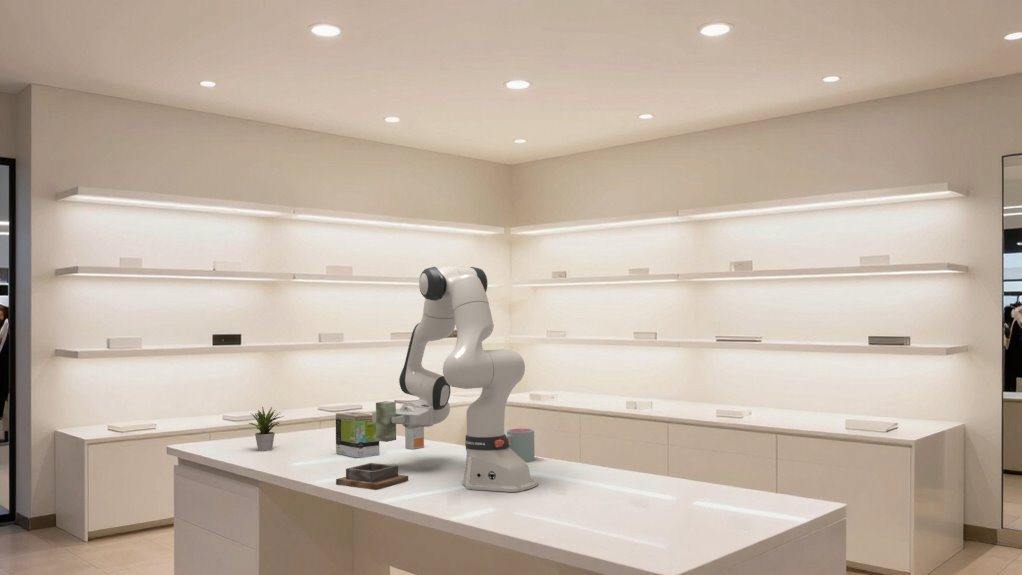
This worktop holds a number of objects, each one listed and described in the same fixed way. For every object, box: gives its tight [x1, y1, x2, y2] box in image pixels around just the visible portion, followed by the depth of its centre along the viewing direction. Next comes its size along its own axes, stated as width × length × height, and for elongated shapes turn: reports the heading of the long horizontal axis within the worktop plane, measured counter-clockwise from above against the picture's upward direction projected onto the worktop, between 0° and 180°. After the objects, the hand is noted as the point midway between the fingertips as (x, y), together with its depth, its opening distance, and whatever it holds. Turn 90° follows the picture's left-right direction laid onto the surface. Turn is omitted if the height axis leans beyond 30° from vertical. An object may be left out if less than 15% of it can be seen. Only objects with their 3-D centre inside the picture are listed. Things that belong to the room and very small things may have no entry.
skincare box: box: [404, 427, 425, 450], centre depth 311 cm, size 6×4×12 cm
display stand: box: [335, 462, 409, 491], centre depth 249 cm, size 16×14×4 cm
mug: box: [505, 427, 536, 463], centre depth 281 cm, size 14×9×10 cm
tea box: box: [335, 411, 380, 459], centre depth 300 cm, size 15×10×15 cm, turn 40°
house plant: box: [248, 406, 285, 452], centre depth 312 cm, size 14×14×16 cm
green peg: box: [375, 400, 397, 443], centre depth 264 cm, size 4×4×12 cm
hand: (384, 420), depth 263 cm, fingers closed on green peg, 4 cm apart
